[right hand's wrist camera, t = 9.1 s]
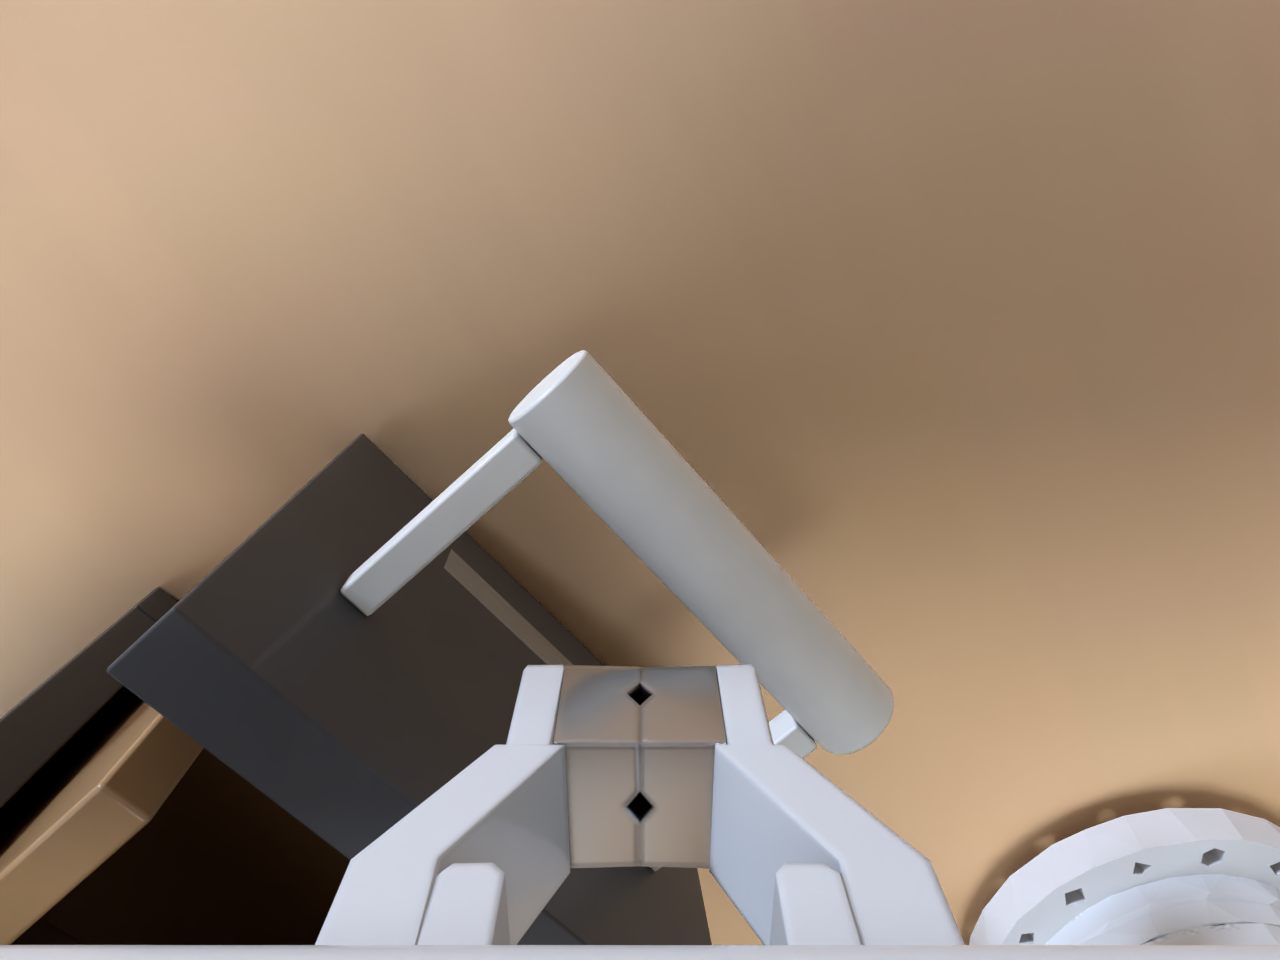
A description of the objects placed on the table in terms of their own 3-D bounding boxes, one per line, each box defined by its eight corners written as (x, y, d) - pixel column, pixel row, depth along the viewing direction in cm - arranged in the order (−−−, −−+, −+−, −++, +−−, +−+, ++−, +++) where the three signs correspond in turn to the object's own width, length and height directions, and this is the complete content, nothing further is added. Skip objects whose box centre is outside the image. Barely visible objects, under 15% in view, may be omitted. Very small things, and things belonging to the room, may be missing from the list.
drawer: (540, 267, 16) (506, 297, 8) (835, 599, 19) (1024, 863, 11) (-57, 821, 19) (-522, 1252, 11) (277, 1044, 22) (101, 1521, 14)
